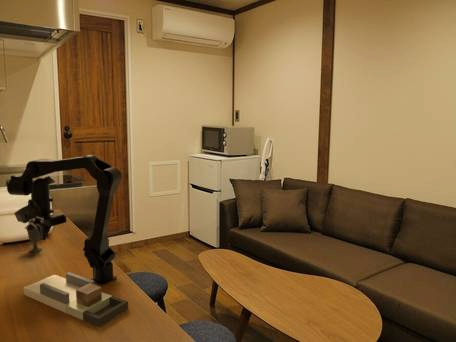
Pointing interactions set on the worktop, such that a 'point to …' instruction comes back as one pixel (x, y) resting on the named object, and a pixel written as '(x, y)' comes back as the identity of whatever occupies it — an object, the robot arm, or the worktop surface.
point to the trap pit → (106, 312)
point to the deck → (73, 306)
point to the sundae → (33, 237)
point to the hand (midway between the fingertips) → (43, 239)
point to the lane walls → (63, 295)
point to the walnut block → (88, 295)
